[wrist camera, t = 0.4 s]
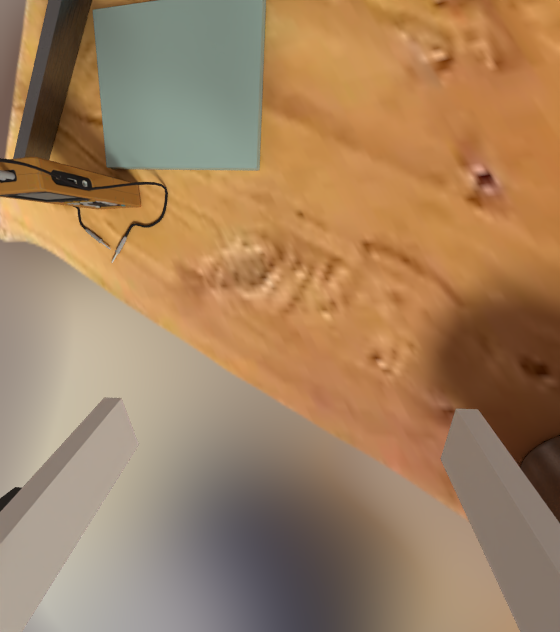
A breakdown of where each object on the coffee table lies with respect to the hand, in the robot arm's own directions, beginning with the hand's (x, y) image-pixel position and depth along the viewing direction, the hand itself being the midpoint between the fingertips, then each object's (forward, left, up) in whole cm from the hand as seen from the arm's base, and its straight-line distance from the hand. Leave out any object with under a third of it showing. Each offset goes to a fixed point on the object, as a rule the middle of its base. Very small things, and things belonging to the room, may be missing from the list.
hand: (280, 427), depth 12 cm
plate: (-23, -20, -24) cm, 39 cm away
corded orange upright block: (-8, -29, -24) cm, 38 cm away
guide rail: (-24, -36, -24) cm, 50 cm away
